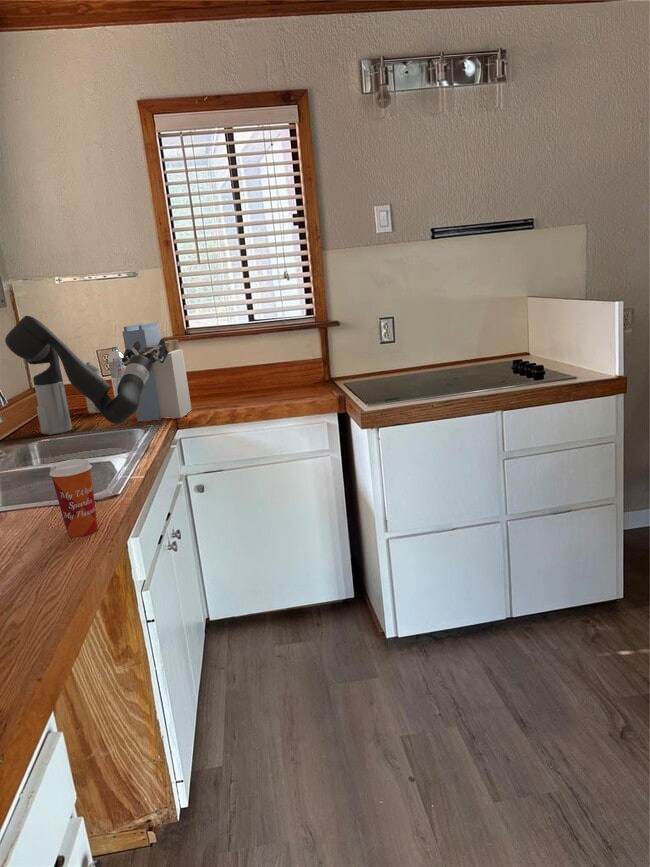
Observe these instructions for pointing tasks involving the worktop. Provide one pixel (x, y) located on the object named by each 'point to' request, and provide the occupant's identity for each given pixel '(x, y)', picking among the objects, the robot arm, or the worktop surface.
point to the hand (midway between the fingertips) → (150, 342)
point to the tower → (148, 396)
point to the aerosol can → (90, 405)
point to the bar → (170, 346)
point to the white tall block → (172, 385)
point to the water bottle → (116, 368)
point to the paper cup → (75, 496)
